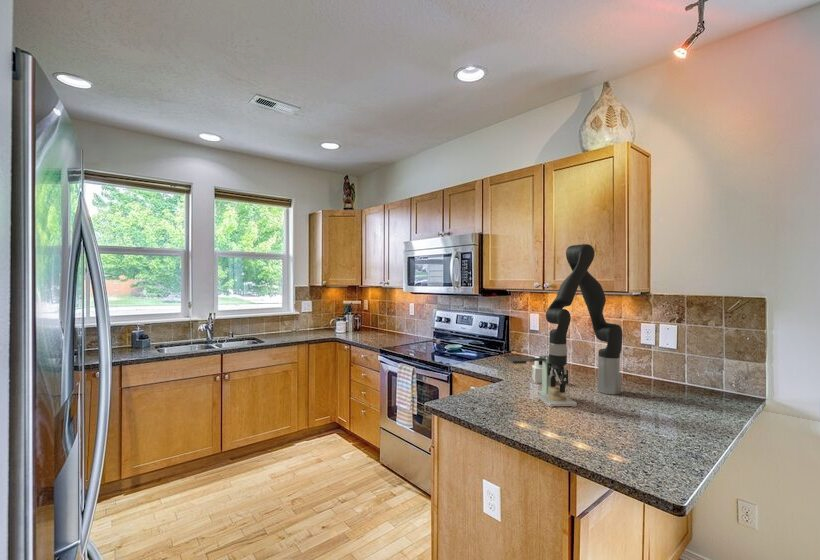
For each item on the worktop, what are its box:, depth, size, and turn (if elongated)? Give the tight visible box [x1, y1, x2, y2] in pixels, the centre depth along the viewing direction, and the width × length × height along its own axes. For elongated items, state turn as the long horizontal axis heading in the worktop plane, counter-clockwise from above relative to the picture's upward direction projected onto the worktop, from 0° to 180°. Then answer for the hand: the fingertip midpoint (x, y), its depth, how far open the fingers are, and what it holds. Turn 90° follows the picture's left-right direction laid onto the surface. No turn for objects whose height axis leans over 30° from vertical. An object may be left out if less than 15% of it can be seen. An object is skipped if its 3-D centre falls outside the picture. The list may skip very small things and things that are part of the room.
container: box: [531, 355, 544, 384], centre depth 205 cm, size 8×8×13 cm
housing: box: [548, 386, 567, 401], centre depth 172 cm, size 6×5×5 cm
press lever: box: [505, 355, 549, 365], centre depth 180 cm, size 20×10×2 cm, turn 96°
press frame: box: [537, 355, 578, 407], centre depth 175 cm, size 12×18×18 cm, turn 6°
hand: (557, 389), depth 172 cm, fingers open, 8 cm apart
